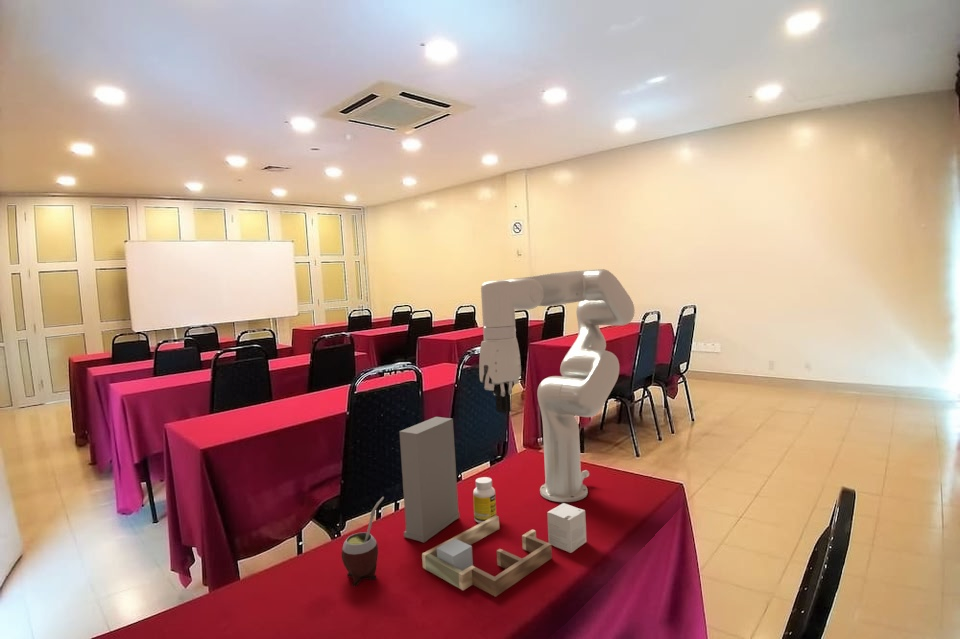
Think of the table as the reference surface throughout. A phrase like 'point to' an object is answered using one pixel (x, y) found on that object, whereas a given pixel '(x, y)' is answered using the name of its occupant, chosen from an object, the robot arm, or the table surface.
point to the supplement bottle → (484, 500)
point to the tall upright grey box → (429, 477)
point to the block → (456, 554)
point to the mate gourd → (361, 554)
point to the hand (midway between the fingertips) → (503, 411)
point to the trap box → (510, 562)
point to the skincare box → (566, 527)
